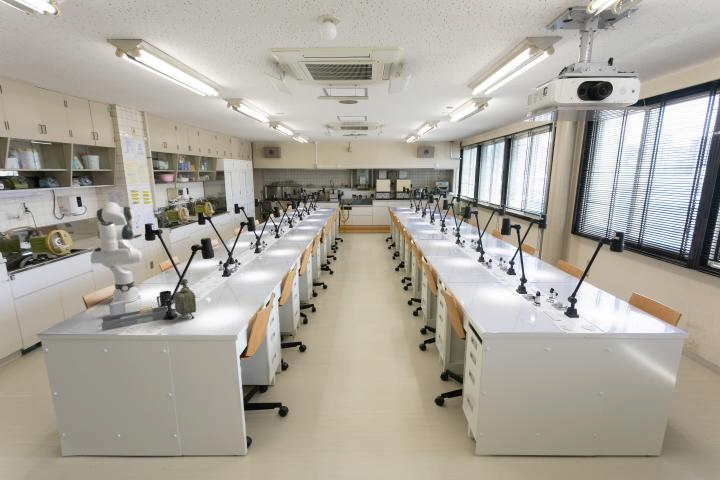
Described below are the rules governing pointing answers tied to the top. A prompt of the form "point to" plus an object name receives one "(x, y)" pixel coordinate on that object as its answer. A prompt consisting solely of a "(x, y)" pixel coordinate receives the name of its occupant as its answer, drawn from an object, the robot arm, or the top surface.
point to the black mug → (163, 297)
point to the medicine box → (117, 308)
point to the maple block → (146, 310)
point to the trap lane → (132, 318)
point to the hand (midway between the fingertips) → (112, 268)
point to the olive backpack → (185, 301)
